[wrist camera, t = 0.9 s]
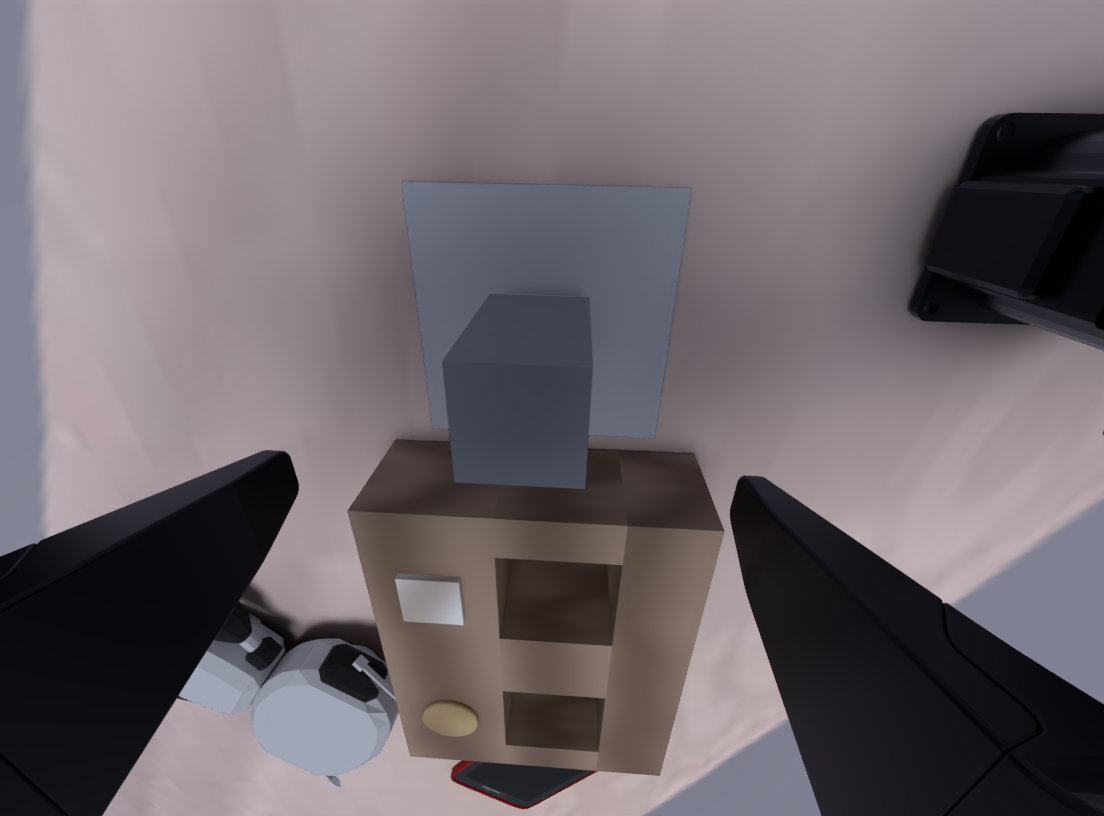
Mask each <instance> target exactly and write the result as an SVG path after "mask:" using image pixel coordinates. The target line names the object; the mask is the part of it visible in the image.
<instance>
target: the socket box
mask: <svg viewBox="0 0 1104 816" xmlns="http://www.w3.org/2000/svg"><path fill="white" fill-rule="evenodd" d="M348 515H349V519H350V523H351V527H352V530H353V534H354V538H355V542H356V546H357V550H358V554H359V558H360V562H361V566H362V570H363V573H364V577H365V581H366V585H367V589H368V593H369V597H370V601H371V605H372V609H373V613H374V616H375V620H376V624H377V628H378V632H379V636H380V640H381V644H382V648H383V652H384V656H385V659H386V663H387V667H388V671H389V675H390V679H391V683H392V687H393V691H394V695H395V699H396V702H397V706H398V710H399V714H400V718H401V722H402V726H403V730H404V734H405V738H406V742H407V745H408V749H409V753H410V756H414V757H426V758H439V759H452V760H465V761H478V762H490V763H503V764H516V765H529V766H542V767H555V768H567V769H580V770H593V771H606V772H619V773H632V774H644V775H657V776H660V773H661V769H662V765H663V761H664V758H665V754H666V750H667V746H668V743H669V739H670V735H671V731H672V727H673V724H674V720H675V716H676V712H677V709H678V705H679V701H680V697H681V694H682V690H683V686H684V682H685V678H686V675H687V671H688V667H689V663H690V660H691V656H692V652H693V648H694V644H695V641H696V637H697V633H698V629H699V626H700V622H701V618H702V614H703V610H704V607H705V603H706V599H707V595H708V592H709V588H710V584H711V580H712V577H713V573H714V569H715V565H716V561H717V558H718V554H719V550H720V546H721V543H722V539H723V535H724V529H723V526H722V524H721V521H720V519H719V516H718V513H717V511H716V508H715V506H714V503H713V501H712V498H711V495H710V493H709V490H708V488H707V485H706V482H705V480H704V477H703V475H702V472H701V469H700V467H699V464H698V462H697V459H696V457H695V454H685V453H664V452H643V451H622V450H600V449H588V453H587V468H586V483H585V489H574V488H555V487H535V486H515V485H496V484H476V483H457V482H454V473H453V463H452V454H451V445H450V442H431V441H410V440H395V441H394V443H393V444H392V446H391V447H390V449H389V450H388V452H387V453H386V455H385V456H384V458H383V459H382V461H381V462H380V464H379V465H378V467H377V468H376V469H375V471H374V472H373V474H372V475H371V477H370V478H369V480H368V481H367V483H366V484H365V486H364V487H363V489H362V490H361V492H360V493H359V495H358V496H357V498H356V499H355V501H354V502H353V504H352V505H351V506H350V508H349V509H348Z"/></svg>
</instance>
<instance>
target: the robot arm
mask: <svg viewBox="0 0 1104 816" xmlns="http://www.w3.org/2000/svg"><path fill="white" fill-rule="evenodd" d="M1003 125H1004V126H1005V132H1004V134H1003V136H1002V137H1001V138H1000V139H999V140H998V139H997V132H998V130H999V129H1000V127H1001V126H1003ZM926 264H927V265H926V267H925V270H924V272H923V275H922V278H921V280H920V283H919V285H918V288H917V290H916V293H915V295H914V298H913V300H912V303H911V306H910V312H911V314H912V315H913V316H914V317H916V318H918V319H920V320H924V321H937V322H967V323H996V324H1026V325H1033V326H1036V327H1039V328H1042V329H1044V330H1047V331H1050V332H1053V333H1056V334H1058V335H1061V336H1064V337H1067V338H1069V339H1072V340H1075V341H1078V342H1081V343H1083V344H1086V345H1089V346H1092V347H1095V348H1097V349H1100V350H1103V351H1104V114H1073V113H1007V114H1001V115H996V116H994V117H993V118H991V119H989V120H988V121H987V122H986V123H985V124H984V125H983V127H982V129H981V131H980V132H979V135H978V137H977V140H976V142H975V145H974V147H973V150H972V152H971V155H970V157H969V160H968V162H967V165H966V167H965V170H964V172H963V175H962V177H961V180H960V182H959V185H958V187H957V188H956V189H955V191H954V194H953V196H952V199H951V201H950V204H949V206H948V209H947V211H946V214H945V216H944V219H943V221H942V224H941V226H940V229H939V231H938V234H937V237H936V239H935V242H934V244H933V247H932V249H931V252H930V254H929V257H928V259H927V262H926ZM931 301H932V306H931V307H930V308H929V309H928V310H926V311H924V308H925V306H926V305H927V304H928V303H929V302H931ZM1103 435H1104V431H1103ZM298 491H299V483H298V480H297V476H296V473H295V470H294V467H293V464H292V460H291V457H290V455H289V454H288V453H287V452H285V451H274V450H265V451H261V452H259V453H256V454H254V455H252V456H249V457H247V458H244V459H242V460H239V461H237V462H234V463H232V464H229V465H227V466H224V467H222V468H219V469H217V470H214V471H212V472H209V473H207V474H204V475H202V476H199V477H197V478H194V479H192V480H189V481H187V482H185V483H182V484H180V485H177V486H175V487H172V488H170V489H167V490H165V491H162V492H160V493H157V494H155V495H152V496H150V497H147V498H145V499H142V500H140V501H137V502H135V503H132V504H130V505H127V506H125V507H123V508H120V509H118V510H115V511H113V512H110V513H108V514H105V515H103V516H100V517H98V518H95V519H93V520H90V521H88V522H85V523H83V524H80V525H78V526H75V527H73V528H70V529H68V530H65V531H63V532H60V533H58V534H56V535H53V536H51V537H48V538H46V539H43V540H41V541H40V542H39V543H38V544H31V545H28V546H25V547H23V548H21V549H18V550H16V551H13V552H11V553H8V554H6V555H3V556H1V557H0V816H102V815H103V814H104V812H105V810H106V809H107V807H108V806H109V804H110V803H111V801H112V799H113V798H114V796H115V795H116V793H117V792H118V790H119V788H120V787H121V785H122V784H123V782H124V781H125V779H126V777H127V776H128V774H129V773H130V771H131V770H132V768H133V766H134V765H135V763H136V762H137V760H138V759H139V757H140V755H141V754H142V752H143V751H144V749H145V748H146V746H147V744H148V743H149V741H150V740H151V738H152V737H153V735H154V733H155V732H156V730H157V729H158V727H159V726H160V724H161V722H162V721H163V719H164V718H165V716H166V715H167V713H168V711H169V710H170V708H171V707H172V705H173V704H174V702H175V700H176V699H177V697H178V696H179V694H180V693H181V691H182V689H183V688H184V686H185V685H186V683H187V682H188V680H189V678H190V677H191V675H192V674H193V672H194V671H195V669H196V667H197V666H198V664H199V663H200V661H201V660H202V658H203V656H204V655H205V653H206V652H207V650H208V649H209V647H210V646H211V644H212V642H213V641H214V639H215V638H216V636H217V635H218V633H219V631H220V630H221V628H222V627H223V625H224V624H225V622H226V620H227V619H228V617H229V616H230V614H231V613H232V611H233V609H234V608H235V606H236V605H237V603H238V602H239V600H240V598H241V597H242V595H243V594H244V592H245V591H246V589H247V587H248V586H249V584H250V583H251V581H252V580H253V578H254V576H255V575H256V573H257V572H258V570H259V568H260V567H261V565H262V563H263V562H264V560H265V558H266V556H267V554H268V552H269V551H270V549H271V547H272V545H273V543H274V541H275V539H276V537H277V535H278V533H279V531H280V529H281V527H282V525H283V523H284V521H285V519H286V517H287V515H288V513H289V511H290V509H291V507H292V505H293V503H294V501H295V499H296V497H297V495H298ZM730 520H731V525H732V530H733V535H734V540H735V544H736V549H737V554H738V558H739V563H740V568H741V572H742V577H743V581H744V586H745V590H746V593H747V597H748V600H749V603H750V606H751V609H752V612H753V615H754V618H755V621H756V624H757V627H758V630H759V633H760V636H761V639H762V642H763V645H764V648H765V651H766V653H767V656H768V659H769V662H770V665H771V668H772V671H773V674H774V677H775V680H776V683H777V686H778V689H779V692H780V695H781V698H782V701H783V704H784V707H785V710H786V713H787V715H788V718H789V721H790V724H791V727H792V730H793V733H794V736H795V739H796V742H797V745H798V748H799V751H800V754H801V756H802V760H803V763H804V765H805V769H806V771H807V775H808V777H809V780H810V783H811V786H812V789H813V792H814V795H815V798H816V801H817V804H818V807H819V810H820V813H821V816H1104V704H1102V703H1101V702H1099V701H1098V700H1096V699H1094V698H1092V697H1091V696H1089V695H1088V694H1086V693H1085V692H1083V691H1081V690H1080V689H1078V688H1076V687H1075V686H1073V685H1072V684H1070V683H1068V682H1067V681H1065V680H1063V679H1062V678H1060V677H1059V676H1057V675H1056V674H1054V673H1053V672H1051V671H1049V670H1048V669H1046V668H1044V667H1043V666H1041V665H1040V664H1038V663H1037V662H1035V661H1034V660H1032V659H1030V658H1029V657H1027V656H1025V655H1024V654H1022V653H1021V652H1019V651H1017V650H1016V649H1015V648H1013V647H1011V646H1010V645H1009V644H1007V643H1006V642H1004V641H1003V640H1001V639H999V638H998V637H996V636H995V635H993V634H992V633H991V632H989V631H987V630H986V629H984V628H983V627H981V626H980V625H979V624H977V623H975V622H974V621H973V620H971V619H970V618H968V617H967V616H965V615H964V614H962V613H961V612H960V611H958V610H957V609H955V608H954V607H952V606H951V605H949V604H948V603H943V602H942V600H941V599H940V598H939V597H938V596H936V595H935V594H933V593H932V592H930V591H929V590H927V589H926V588H924V587H923V586H922V585H920V584H919V583H917V582H916V581H914V580H913V579H911V578H910V577H908V576H907V575H906V574H904V573H903V572H901V571H900V570H898V569H897V568H895V567H894V566H892V565H891V564H890V563H888V562H887V561H885V560H884V559H882V558H881V557H879V556H878V555H876V554H875V553H874V552H872V551H871V550H869V549H868V548H866V547H865V546H863V545H862V544H860V543H859V542H858V541H856V540H855V539H853V538H852V537H850V536H849V535H847V534H846V533H844V532H843V531H842V530H840V529H839V528H837V527H836V526H834V525H833V524H831V523H830V522H828V521H827V520H825V519H824V518H823V517H821V516H820V515H818V514H817V513H815V512H814V511H812V510H811V509H809V508H808V507H807V506H805V505H804V504H802V503H801V502H799V501H798V500H796V499H795V498H793V497H792V496H791V495H789V494H788V493H786V492H785V491H783V490H782V489H780V488H779V487H777V486H776V485H775V484H773V483H772V482H770V481H769V480H767V479H766V478H764V477H761V476H742V477H740V478H739V480H738V482H737V486H736V490H735V493H734V497H733V501H732V505H731V509H730Z"/></svg>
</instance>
